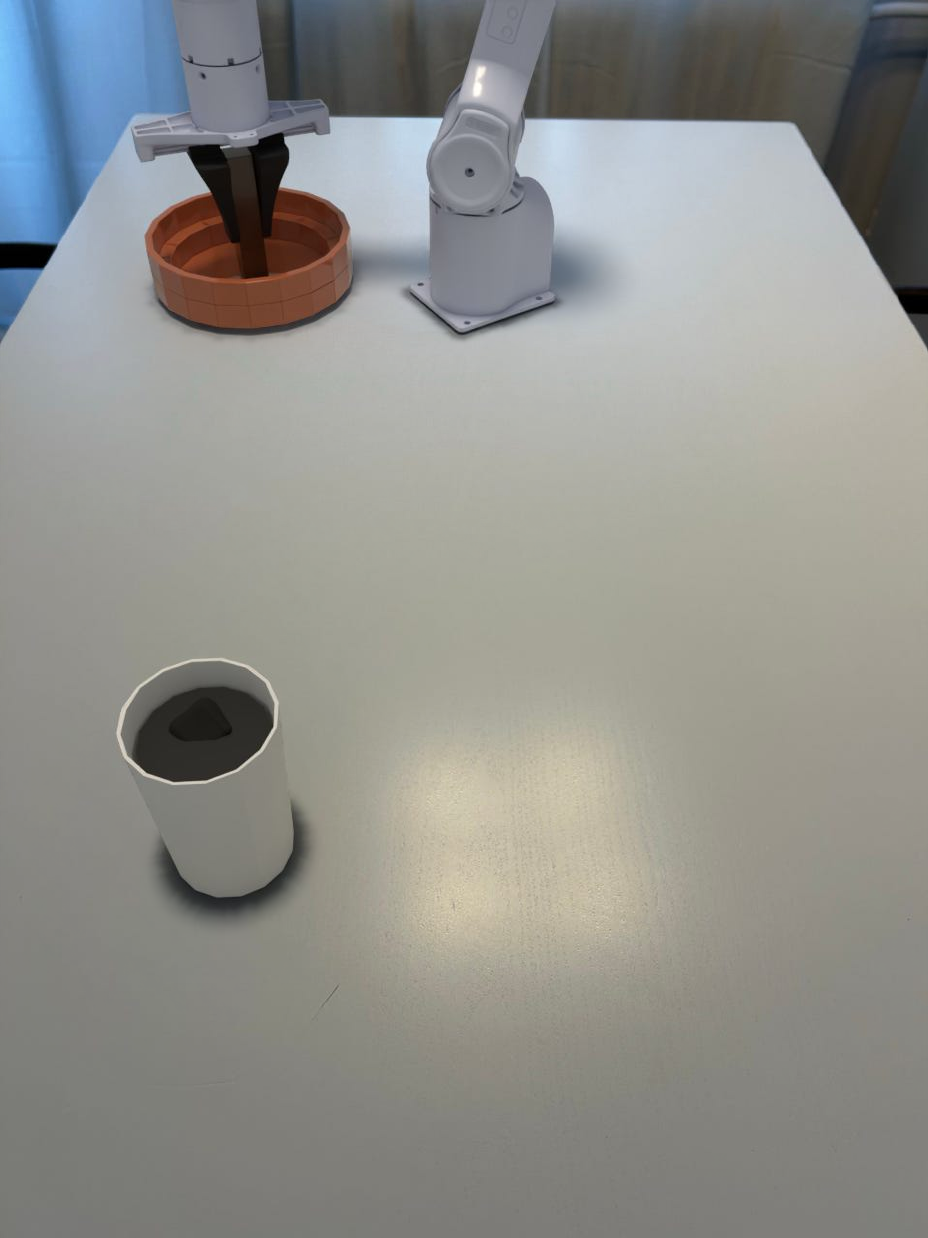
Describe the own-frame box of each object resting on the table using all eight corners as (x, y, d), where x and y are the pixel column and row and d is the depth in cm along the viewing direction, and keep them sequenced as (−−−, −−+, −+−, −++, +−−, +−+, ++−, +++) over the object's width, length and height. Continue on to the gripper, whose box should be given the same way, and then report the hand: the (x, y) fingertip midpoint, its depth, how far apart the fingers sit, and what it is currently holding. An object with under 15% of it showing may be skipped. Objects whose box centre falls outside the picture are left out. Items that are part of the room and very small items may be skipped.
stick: (262, 265, 87) (245, 144, 79) (269, 276, 85) (252, 154, 78) (239, 269, 86) (220, 148, 79) (245, 281, 85) (226, 158, 78)
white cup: (140, 831, 50) (89, 705, 43) (260, 764, 53) (231, 634, 46) (205, 933, 47) (161, 815, 40) (329, 855, 50) (309, 731, 42)
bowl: (298, 219, 94) (292, 170, 91) (388, 298, 85) (385, 246, 82) (127, 266, 88) (115, 215, 84) (205, 357, 79) (194, 303, 75)
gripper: (129, 86, 69) (168, 274, 79) (336, 58, 73) (349, 241, 83) (110, 50, 73) (150, 233, 83) (307, 26, 77) (323, 203, 87)
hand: (248, 234), depth 83 cm, fingers closed on stick, 2 cm apart
